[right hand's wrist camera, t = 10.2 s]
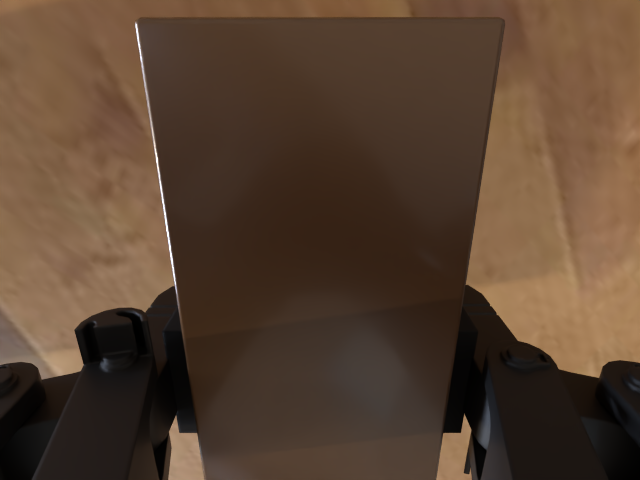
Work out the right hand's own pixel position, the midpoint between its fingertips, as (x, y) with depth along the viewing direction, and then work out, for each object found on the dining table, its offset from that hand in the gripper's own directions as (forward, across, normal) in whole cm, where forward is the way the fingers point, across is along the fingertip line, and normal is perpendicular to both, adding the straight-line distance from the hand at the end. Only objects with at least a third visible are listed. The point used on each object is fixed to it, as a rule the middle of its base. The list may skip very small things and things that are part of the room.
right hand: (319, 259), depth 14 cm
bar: (+1, 0, -23) cm, 23 cm away
